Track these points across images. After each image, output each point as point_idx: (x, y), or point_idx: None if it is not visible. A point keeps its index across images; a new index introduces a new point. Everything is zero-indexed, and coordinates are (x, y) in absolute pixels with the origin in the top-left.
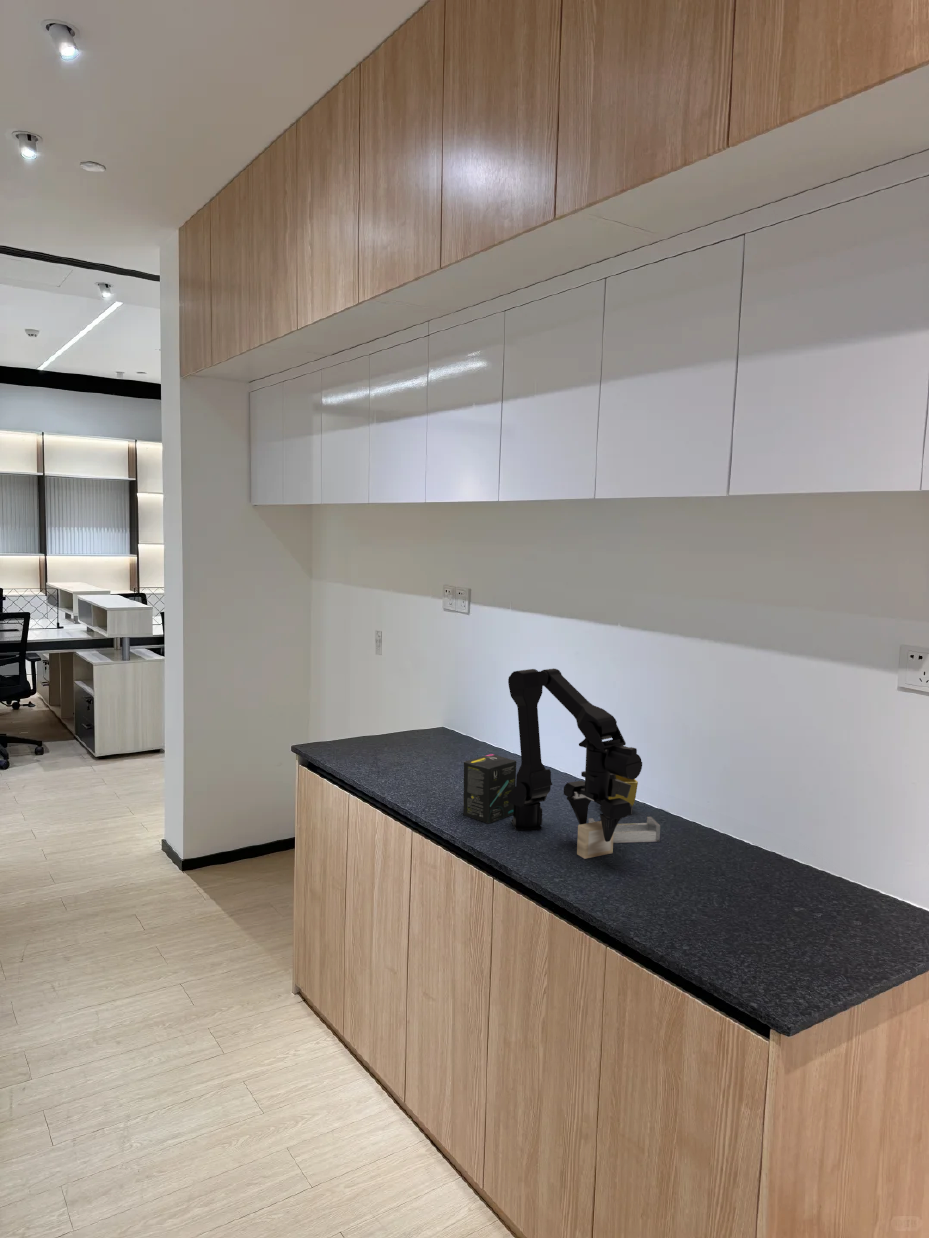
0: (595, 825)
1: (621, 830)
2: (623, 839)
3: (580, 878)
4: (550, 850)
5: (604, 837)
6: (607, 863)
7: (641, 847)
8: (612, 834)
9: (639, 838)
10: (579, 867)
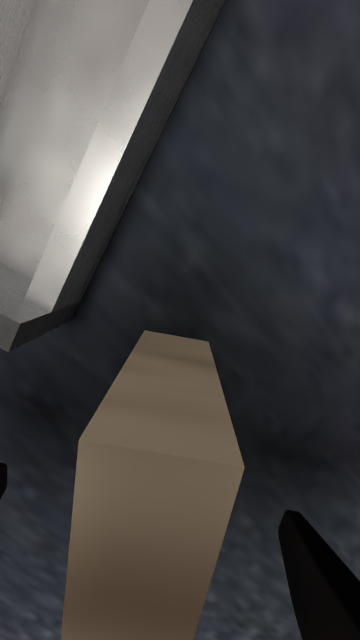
0: (150, 620)
1: (12, 33)
2: (138, 165)
3: None
4: (40, 517)
5: (289, 578)
6: (273, 446)
7: (260, 137)
8: (351, 575)
9: (196, 43)
10: (226, 543)
